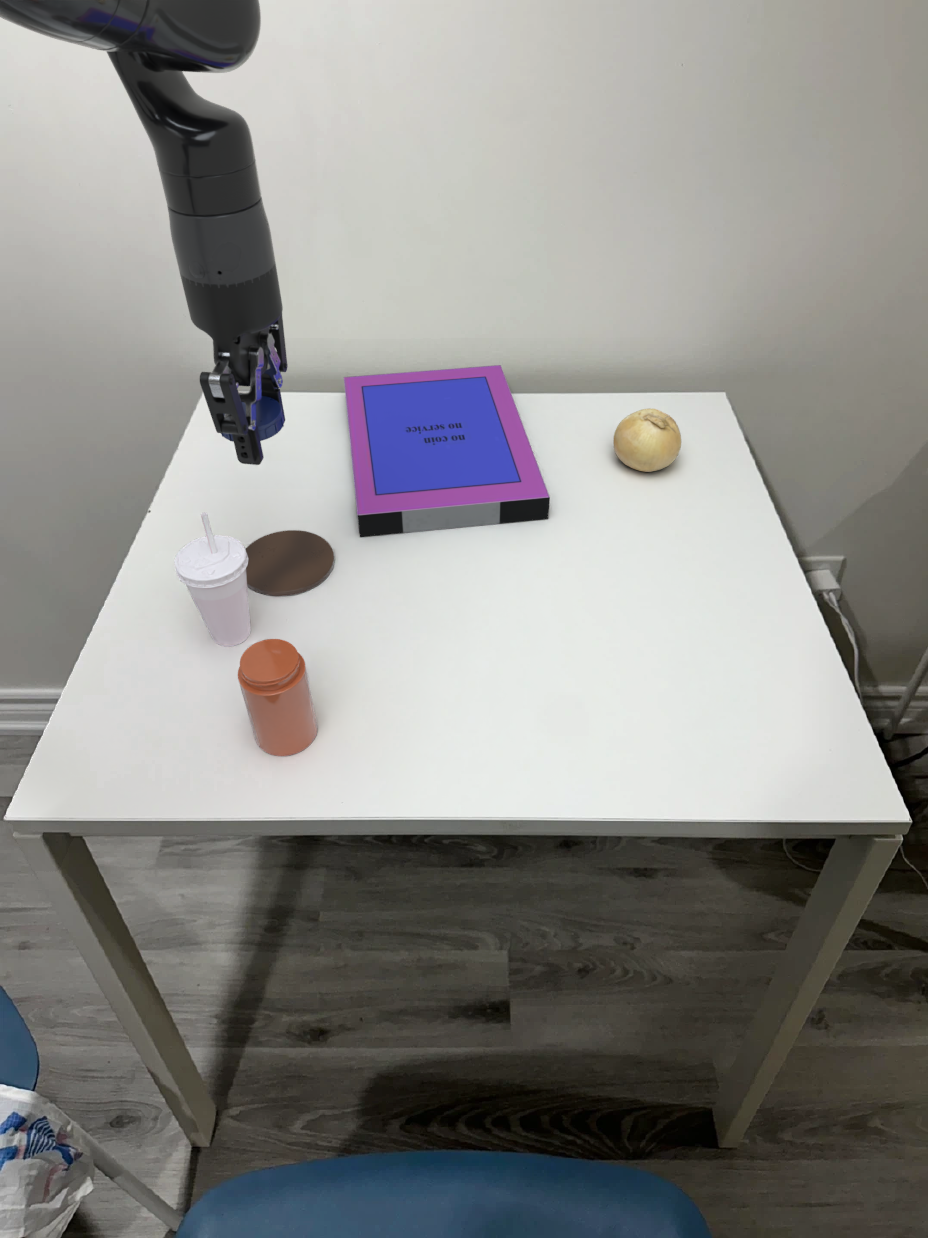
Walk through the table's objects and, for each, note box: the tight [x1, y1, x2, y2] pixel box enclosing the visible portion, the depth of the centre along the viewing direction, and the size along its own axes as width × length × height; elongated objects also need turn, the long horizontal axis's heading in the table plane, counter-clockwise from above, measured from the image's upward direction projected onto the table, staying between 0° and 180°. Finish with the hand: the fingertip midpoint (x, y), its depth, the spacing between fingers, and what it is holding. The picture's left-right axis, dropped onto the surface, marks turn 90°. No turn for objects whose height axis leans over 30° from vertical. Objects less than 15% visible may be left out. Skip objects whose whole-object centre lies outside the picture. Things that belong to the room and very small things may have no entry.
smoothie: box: [173, 511, 252, 647], centre depth 78 cm, size 6×6×14 cm
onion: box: [612, 407, 682, 473], centre depth 100 cm, size 8×8×7 cm
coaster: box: [245, 529, 335, 597], centre depth 89 cm, size 10×10×1 cm
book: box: [343, 364, 551, 538], centre depth 103 cm, size 21×3×30 cm
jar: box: [237, 638, 319, 757], centre depth 71 cm, size 5×5×9 cm
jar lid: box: [220, 396, 286, 443], centre depth 77 cm, size 6×6×1 cm
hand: (263, 442), depth 79 cm, fingers closed on jar lid, 5 cm apart
